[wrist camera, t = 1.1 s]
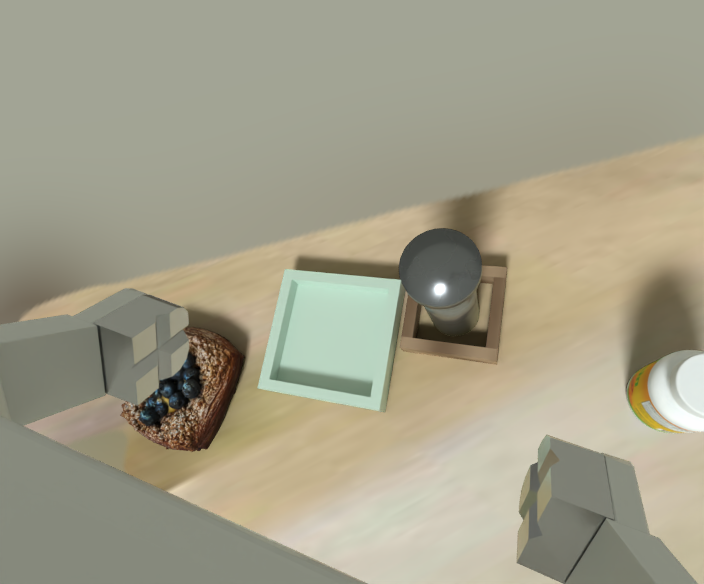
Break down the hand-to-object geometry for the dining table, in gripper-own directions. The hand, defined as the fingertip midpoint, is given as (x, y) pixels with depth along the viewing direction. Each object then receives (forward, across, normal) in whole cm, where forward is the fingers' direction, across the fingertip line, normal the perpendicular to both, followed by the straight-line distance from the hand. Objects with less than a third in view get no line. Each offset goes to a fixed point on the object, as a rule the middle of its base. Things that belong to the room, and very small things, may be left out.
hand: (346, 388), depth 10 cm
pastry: (+25, +22, +29) cm, 44 cm away
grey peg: (+32, -1, +15) cm, 36 cm away
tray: (+30, +9, +20) cm, 37 cm away
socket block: (+32, -1, +15) cm, 36 cm away
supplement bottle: (+29, -19, +15) cm, 38 cm away
